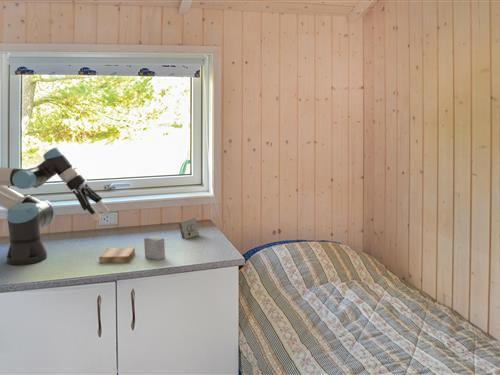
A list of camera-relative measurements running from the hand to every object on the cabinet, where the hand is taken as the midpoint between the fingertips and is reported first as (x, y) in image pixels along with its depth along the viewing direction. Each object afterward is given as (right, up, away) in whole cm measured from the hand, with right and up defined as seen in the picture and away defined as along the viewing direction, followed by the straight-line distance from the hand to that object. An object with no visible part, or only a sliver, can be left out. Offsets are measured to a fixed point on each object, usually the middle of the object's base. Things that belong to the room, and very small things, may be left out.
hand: (103, 215), depth 190 cm
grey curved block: (+26, -17, -11) cm, 33 cm away
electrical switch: (+36, -12, +21) cm, 44 cm away
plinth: (+10, -17, -11) cm, 23 cm away
